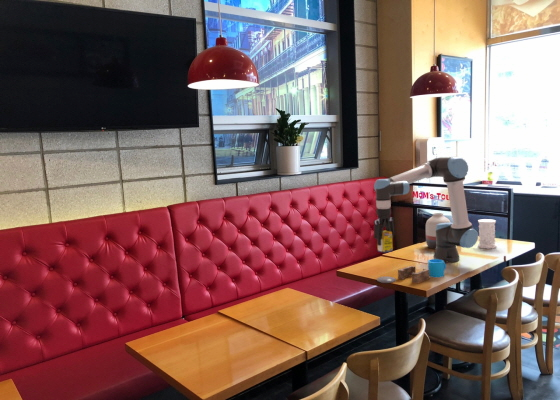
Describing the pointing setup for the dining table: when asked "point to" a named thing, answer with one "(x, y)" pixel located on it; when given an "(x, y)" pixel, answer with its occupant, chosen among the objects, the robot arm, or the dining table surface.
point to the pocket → (413, 274)
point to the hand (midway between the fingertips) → (385, 249)
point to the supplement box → (386, 242)
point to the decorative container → (487, 233)
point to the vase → (434, 228)
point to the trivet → (386, 279)
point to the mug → (436, 267)
